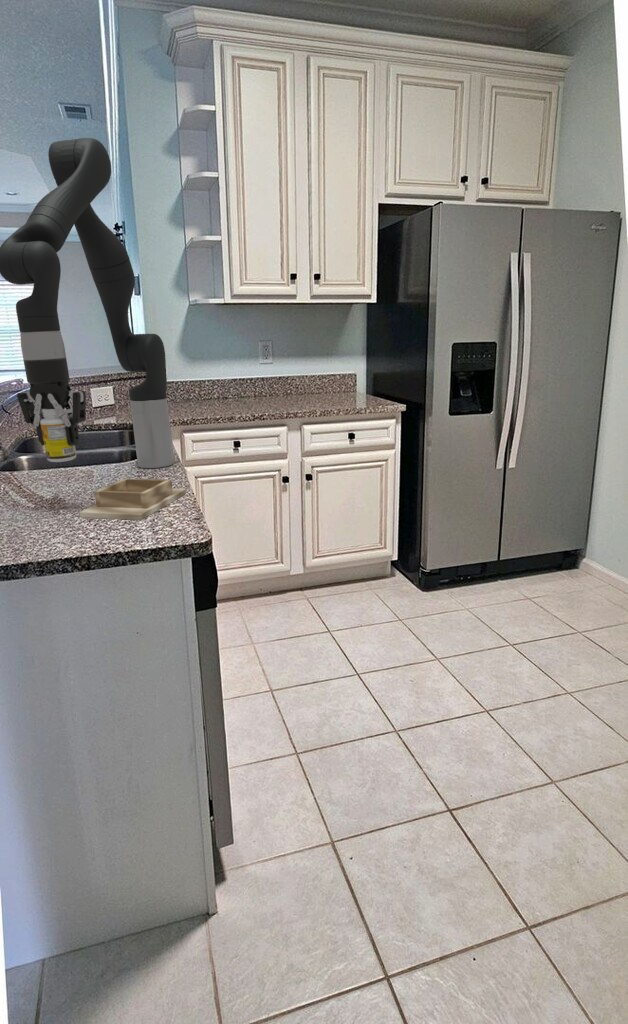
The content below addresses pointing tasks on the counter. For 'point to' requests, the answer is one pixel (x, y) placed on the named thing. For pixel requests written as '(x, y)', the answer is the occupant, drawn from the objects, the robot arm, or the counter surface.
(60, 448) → the supplement bottle
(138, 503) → the cup caddy
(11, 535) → the counter surface
